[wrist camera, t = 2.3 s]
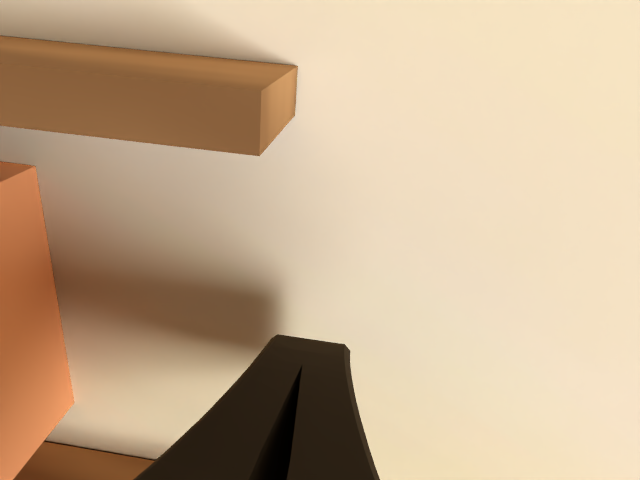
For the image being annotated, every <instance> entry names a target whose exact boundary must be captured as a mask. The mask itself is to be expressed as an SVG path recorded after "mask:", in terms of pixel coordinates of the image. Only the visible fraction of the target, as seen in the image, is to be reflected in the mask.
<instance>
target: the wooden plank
mask: <svg viewBox="0 0 640 480" xmlns="http://www.w3.org/2000/svg"><path fill="white" fill-rule="evenodd" d="M297 69H298V66H293V65H283V64H273V63H263V62H253V61H244V60H234V59H224V58H214V57H204V56H194V55H184V54H175V53H165V52H155V51H145V50H135V49H125V48H115V47H106V46H96V45H86V44H76V43H66V42H56V41H46V40H37V39H27V38H17V37H7V36H0V126H8V127H17V128H25V129H34V130H42V131H51V132H59V133H68V134H76V135H85V136H93V137H102V138H110V139H119V140H127V141H136V142H144V143H153V144H161V145H170V146H178V147H187V148H195V149H204V150H212V151H221V152H229V153H238V154H246V155H255V156H260V155H261V154H262V153H263V151H264V150H265V149H266V148H267V147H268V146H269V145H270V143H271V142H272V141H273V140H274V139H275V138H276V136H277V135H278V134H279V133H280V132H281V131H282V130H283V128H284V127H285V126H286V125H287V124H288V123H289V121H290V120H291V119H292V118H293V117H294V116H295V104H296V87H297ZM153 462H154V461H153V460H147V459H141V458H136V457H130V456H124V455H118V454H113V453H107V452H101V451H95V450H89V449H84V448H78V447H72V446H66V445H61V444H55V443H49V442H43V443H42V444H41V445H40V446H39V448H38V449H37V450H36V451H35V453H34V454H33V455H32V456H31V458H30V459H29V460H28V462H27V463H26V464H25V465H24V467H23V468H22V469H21V470H20V472H19V473H18V474H17V475H16V477H15V478H14V479H13V480H133V479H134V478H136V477H137V476H138V475H139V474H140V473H142V472H143V471H144V470H145V469H146V468H148V467H149V466H150V465H151V464H152V463H153Z"/></svg>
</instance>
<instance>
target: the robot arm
mask: <svg viewBox="0 0 640 480" xmlns="http://www.w3.org/2000/svg"><path fill="white" fill-rule="evenodd" d="M133 480H380V479H379V476H378V473H377V470H376V468H375V465H374V462H373V459H372V456H371V453H370V449H369V446H368V443H367V439H366V436H365V432H364V429H363V425H362V422H361V418H360V415H359V411H358V407H357V403H356V398H355V393H354V388H353V383H352V376H351V368H350V350H349V349H348V348H347V347H346V345H345V344H338V343H331V342H325V341H318V340H311V339H304V338H298V337H291V336H284V335H276V336H275V337H273V338H272V339H271V340H270V341H269V342H268V344H267V345H266V346H265V348H264V349H263V350H262V351H261V353H260V354H259V355H258V357H257V358H256V359H255V360H254V361H253V363H252V364H251V365H250V366H249V367H248V368H247V370H246V371H245V372H244V373H243V374H242V375H241V376H240V378H239V379H238V380H237V381H236V382H235V383H234V384H233V385H232V386H231V388H230V389H229V390H228V391H227V392H226V393H225V394H224V395H223V396H222V397H221V398H220V399H219V400H218V401H217V402H216V403H215V405H214V406H213V407H212V408H211V409H210V410H209V411H208V412H207V413H206V414H205V415H204V416H203V417H202V418H201V419H200V420H199V421H198V422H197V423H196V424H194V425H193V426H192V427H191V428H190V429H189V430H188V431H187V432H186V433H185V434H184V435H183V436H182V437H181V438H180V439H179V440H178V441H176V442H175V443H174V444H173V445H172V446H171V447H170V448H169V449H168V450H167V451H166V452H165V453H164V454H162V455H161V456H160V457H159V458H158V459H157V460H156V461H154V462H153V463H152V464H151V465H150V466H149V467H148V468H146V469H145V470H144V471H143V472H142V473H140V474H139V475H138V476H137V477H136V478H134V479H133Z"/></svg>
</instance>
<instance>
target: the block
mask: <svg viewBox="0 0 640 480" xmlns="http://www.w3.org/2000/svg"><path fill="white" fill-rule="evenodd" d="M73 404H74V397H73V391H72V385H71V379H70V373H69V367H68V361H67V355H66V349H65V343H64V337H63V331H62V325H61V318H60V312H59V306H58V300H57V294H56V288H55V282H54V276H53V270H52V264H51V258H50V252H49V246H48V240H47V234H46V228H45V222H44V215H43V209H42V203H41V197H40V191H39V185H38V179H37V173H36V167H35V166H31V165H24V164H16V163H8V162H1V161H0V480H13V479H14V478H15V477H16V475H17V474H18V473H19V472H20V470H21V469H22V468H23V467H24V465H25V464H26V463H27V462H28V460H29V459H30V458H31V456H32V455H33V454H34V453H35V451H36V450H37V449H38V448H39V446H40V445H41V444H42V443H43V441H44V440H45V439H46V438H47V436H48V435H49V434H50V433H51V431H52V430H53V429H54V428H55V426H56V425H57V424H58V423H59V421H60V420H61V419H62V418H63V416H64V415H65V414H66V412H67V411H68V410H69V409H70V407H71V406H72V405H73Z"/></svg>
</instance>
